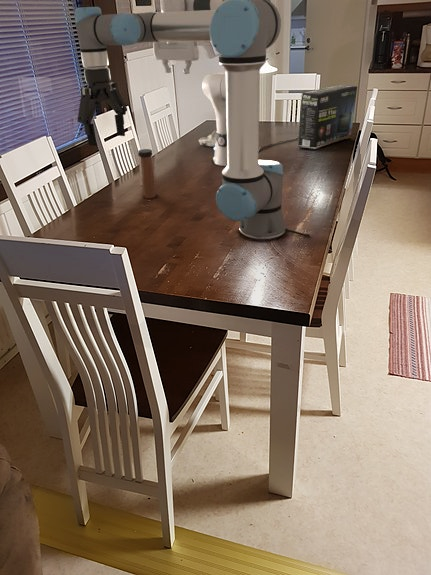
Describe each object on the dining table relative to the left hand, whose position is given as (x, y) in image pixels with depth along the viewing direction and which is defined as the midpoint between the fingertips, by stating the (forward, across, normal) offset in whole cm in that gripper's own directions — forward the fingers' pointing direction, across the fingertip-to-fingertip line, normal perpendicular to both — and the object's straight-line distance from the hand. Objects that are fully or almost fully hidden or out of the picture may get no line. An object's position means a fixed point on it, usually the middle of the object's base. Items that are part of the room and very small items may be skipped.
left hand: (177, 73), depth 178 cm
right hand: (+14, -10, +48) cm, 51 cm away
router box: (+42, -26, -86) cm, 99 cm away
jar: (+42, -2, +24) cm, 49 cm away
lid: (+25, -2, +24) cm, 34 cm away
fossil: (+42, +24, -55) cm, 74 cm away
